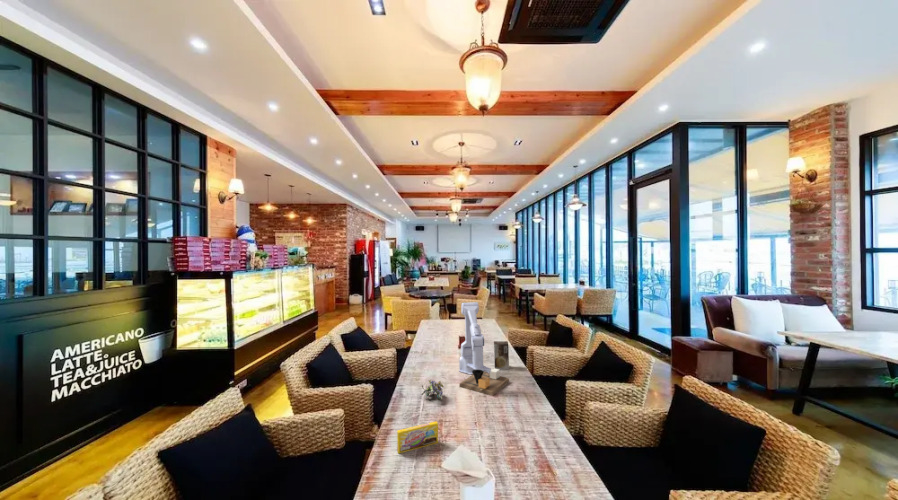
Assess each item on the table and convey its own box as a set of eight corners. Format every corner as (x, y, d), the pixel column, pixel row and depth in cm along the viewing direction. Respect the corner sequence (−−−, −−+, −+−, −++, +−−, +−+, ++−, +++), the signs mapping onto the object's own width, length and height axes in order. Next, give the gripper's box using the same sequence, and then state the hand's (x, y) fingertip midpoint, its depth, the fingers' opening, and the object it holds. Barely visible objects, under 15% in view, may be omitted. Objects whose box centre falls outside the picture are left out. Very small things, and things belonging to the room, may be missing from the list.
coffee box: (508, 366, 210) (507, 341, 209) (509, 369, 203) (508, 344, 203) (494, 365, 211) (493, 340, 210) (494, 369, 204) (494, 343, 204)
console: (458, 387, 179) (458, 384, 179) (478, 374, 197) (478, 370, 197) (490, 396, 167) (490, 392, 167) (509, 381, 186) (509, 377, 186)
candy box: (398, 454, 122) (398, 432, 122) (396, 451, 124) (396, 429, 124) (438, 443, 129) (438, 422, 128) (436, 440, 131) (436, 420, 130)
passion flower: (440, 409, 166) (445, 396, 159) (419, 407, 164) (423, 394, 158) (440, 389, 175) (445, 375, 169) (420, 387, 174) (424, 373, 167)
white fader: (489, 377, 185) (489, 370, 185) (493, 375, 189) (493, 368, 189) (496, 379, 183) (495, 372, 183) (499, 376, 187) (499, 369, 187)
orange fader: (478, 387, 173) (478, 379, 173) (483, 383, 177) (483, 376, 177) (485, 388, 171) (485, 381, 171) (489, 385, 175) (489, 378, 175)
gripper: (462, 357, 177) (463, 382, 177) (486, 362, 169) (486, 389, 169) (469, 354, 183) (469, 378, 183) (492, 358, 174) (492, 384, 175)
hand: (478, 383), depth 176 cm, fingers closed
